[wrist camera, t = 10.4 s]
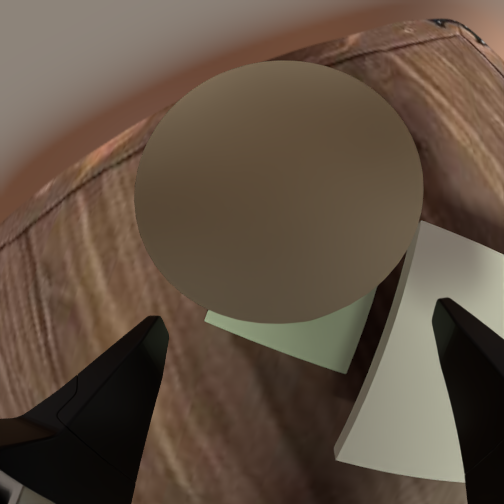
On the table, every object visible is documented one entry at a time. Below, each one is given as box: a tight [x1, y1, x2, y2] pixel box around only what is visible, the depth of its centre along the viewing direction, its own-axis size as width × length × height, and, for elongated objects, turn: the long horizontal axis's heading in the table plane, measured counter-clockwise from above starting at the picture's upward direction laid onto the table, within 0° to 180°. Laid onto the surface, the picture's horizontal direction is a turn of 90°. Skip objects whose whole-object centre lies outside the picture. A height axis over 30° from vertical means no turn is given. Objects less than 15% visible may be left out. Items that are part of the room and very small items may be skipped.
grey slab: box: [334, 220, 504, 482], centre depth 13 cm, size 13×16×4 cm
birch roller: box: [134, 60, 424, 324], centre depth 11 cm, size 5×5×13 cm
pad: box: [204, 285, 378, 374], centre depth 18 cm, size 9×9×1 cm
